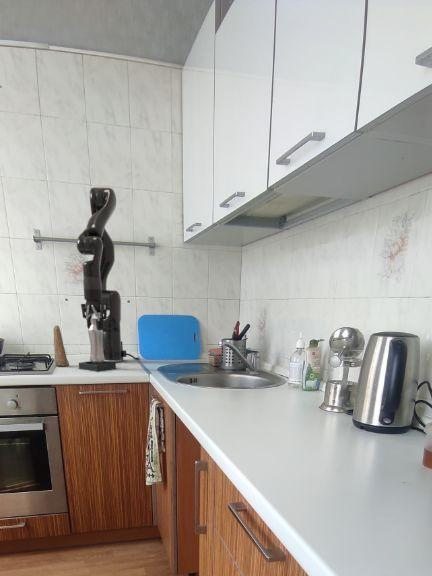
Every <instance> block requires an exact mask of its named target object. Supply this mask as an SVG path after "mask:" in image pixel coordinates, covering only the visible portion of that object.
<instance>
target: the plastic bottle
mask: <svg viewBox="0 0 432 576" xmlns="http://www.w3.org/2000/svg"><path fill="white" fill-rule="evenodd" d="M87 332H88V339H89V345H90V356H89V361H91V363H92V364H93V365H101V364H104V362H105V358H104V355H103V347H102V338H103V330H98V319H97V318H92V319H91V326H90V327H89V329H88V331H87Z"/></svg>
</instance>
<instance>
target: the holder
mask: <svg viewBox="0 0 432 576" xmlns="http://www.w3.org/2000/svg"><path fill="white" fill-rule="evenodd" d="M78 369H80V370H84V371H91V372H102V371H109V370H115V369H117V362H106V361H105V362H104V364H101V365H93V364H92V363H91V361H90V360H89V361H81V362H78Z"/></svg>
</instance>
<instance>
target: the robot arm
mask: <svg viewBox="0 0 432 576" xmlns="http://www.w3.org/2000/svg"><path fill="white" fill-rule="evenodd" d="M89 206H90V213H91V214H90V215H91V216H90V217H89V219H88V221H87V224H86V227H85V229H84V230H83V231H82V232H81V233H80V234H79V235H78V237H77V239H76V250H77V251H78V252H79V254H80V255H84V256H93V257H92V259H90V260H86V261H84V262H82V273H83V274H82V275H83V276H82V277H83V282H82V283H83V285H82V286H83V298H84V300H85V303H81V304H80V308H81V314H82V318H83V319H85V320H86V326H87V329H88V330H89V327H90V326H91V319H93V317H94V316H95V317H96V319H98V330H103V338H102V347H103V355H104V358H105V361H106V362H113V363H120V362H124V358H127V356H128V357H131V358H132V359H134V360H140V357H135V356H134V355H133V354H130V353H127V350H124V348H123V341H122V335H121V334H122V333H121V320H122V297H121V293H119V291H118V290H114V289H108V288H107V285H108V284H107V282H108V277H109V275H110V274H111V273H110V272H111V271H112V269H113V266H114V265H115V261H116V253H115V252H116V251H115V244H114V243H115V242H114V241H113V239H112V237H111V236H110V234H109V232H108V231H107V230H106V225H107V224H108V222H109V220H110V219H111V217H112V215H113V214H114V212H115V210H116V208H117V195H116V193H115V190H114V189H113V188H112V187H99V186H98V187H97V186H96V187H91V188H90V190H89ZM108 311H109V313H108ZM107 313H108V314H107Z"/></svg>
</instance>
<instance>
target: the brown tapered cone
mask: <svg viewBox="0 0 432 576" xmlns="http://www.w3.org/2000/svg"><path fill="white" fill-rule="evenodd" d="M63 340H64V339H63V337H62V331H61V328H60V326H59V325H55V326H54V327H53V348H54V352H53V353H54V364H55V365H56V366H57V367H59V366H60V367H69V366H70V362H69V360H68V357H67V352H66V349H65V346H64V345H65V344H64V341H63Z"/></svg>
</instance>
